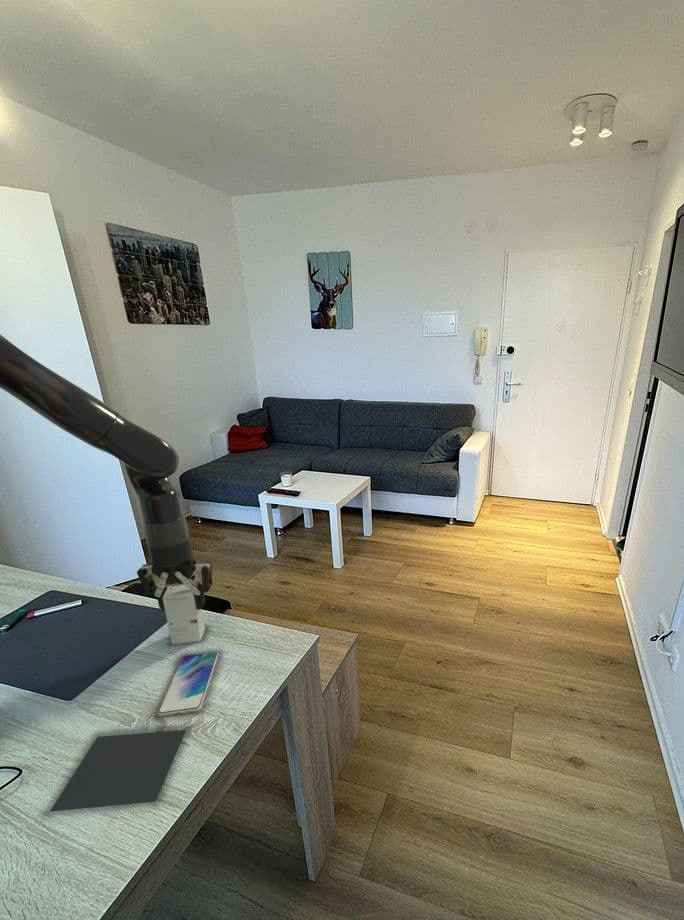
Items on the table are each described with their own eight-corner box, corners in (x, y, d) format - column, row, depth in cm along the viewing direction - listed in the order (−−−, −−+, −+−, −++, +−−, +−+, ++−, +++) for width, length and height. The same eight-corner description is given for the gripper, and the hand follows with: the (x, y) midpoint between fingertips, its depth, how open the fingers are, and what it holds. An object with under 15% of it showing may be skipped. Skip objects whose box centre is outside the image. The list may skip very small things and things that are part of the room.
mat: (50, 813, 60) (49, 811, 60) (98, 738, 71) (97, 736, 71) (156, 803, 61) (155, 801, 61) (186, 731, 72) (186, 729, 72)
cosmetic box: (171, 646, 92) (159, 598, 87) (177, 632, 96) (166, 586, 91) (202, 642, 93) (192, 594, 89) (206, 629, 97) (197, 583, 93)
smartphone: (155, 714, 74) (181, 655, 88) (157, 718, 75) (182, 658, 88) (200, 708, 76) (219, 650, 89) (201, 712, 76) (219, 654, 90)
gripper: (211, 528, 90) (223, 596, 96) (138, 530, 88) (155, 600, 94) (199, 544, 83) (213, 617, 89) (120, 547, 81) (139, 621, 88)
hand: (183, 608), depth 92 cm, fingers closed on cosmetic box, 6 cm apart
